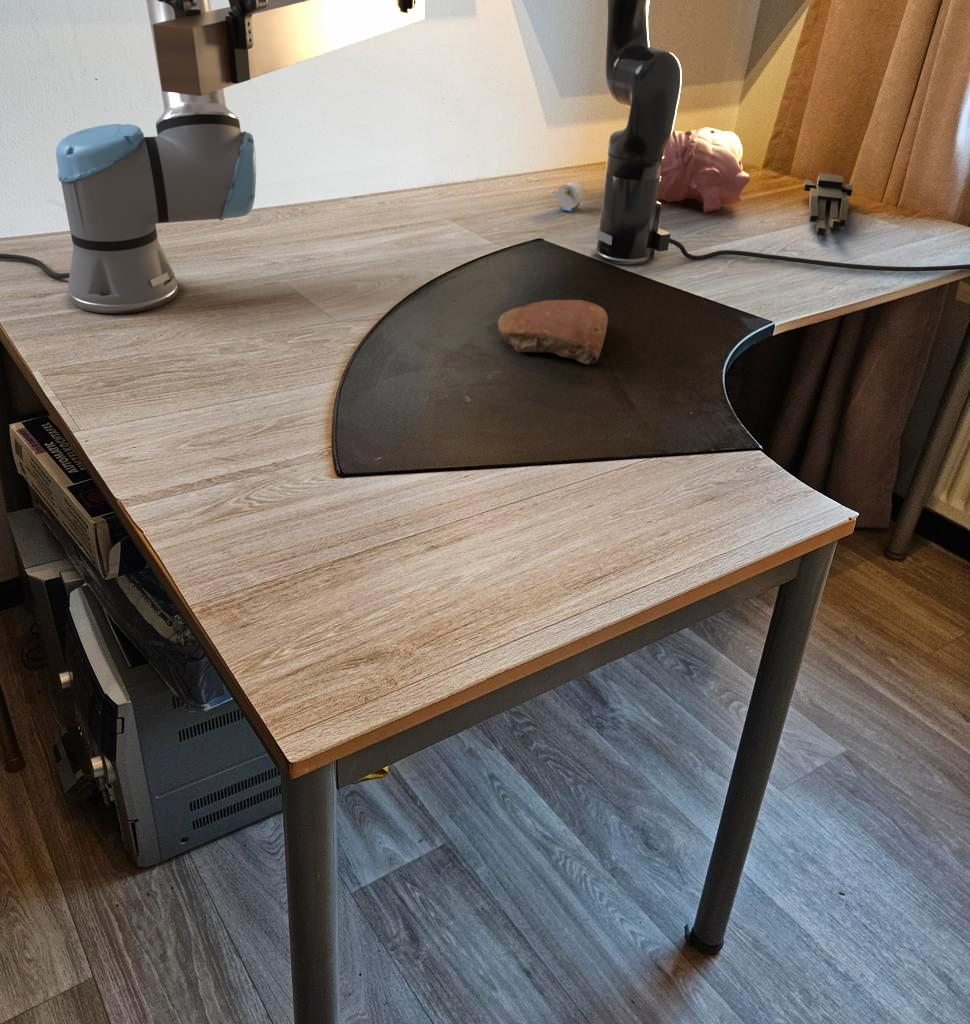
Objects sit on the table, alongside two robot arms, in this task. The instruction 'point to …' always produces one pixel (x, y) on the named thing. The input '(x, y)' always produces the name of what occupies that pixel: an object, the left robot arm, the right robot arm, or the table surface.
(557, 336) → the ceramic shard
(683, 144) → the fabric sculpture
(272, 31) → the bar
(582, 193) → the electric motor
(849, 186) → the toy
